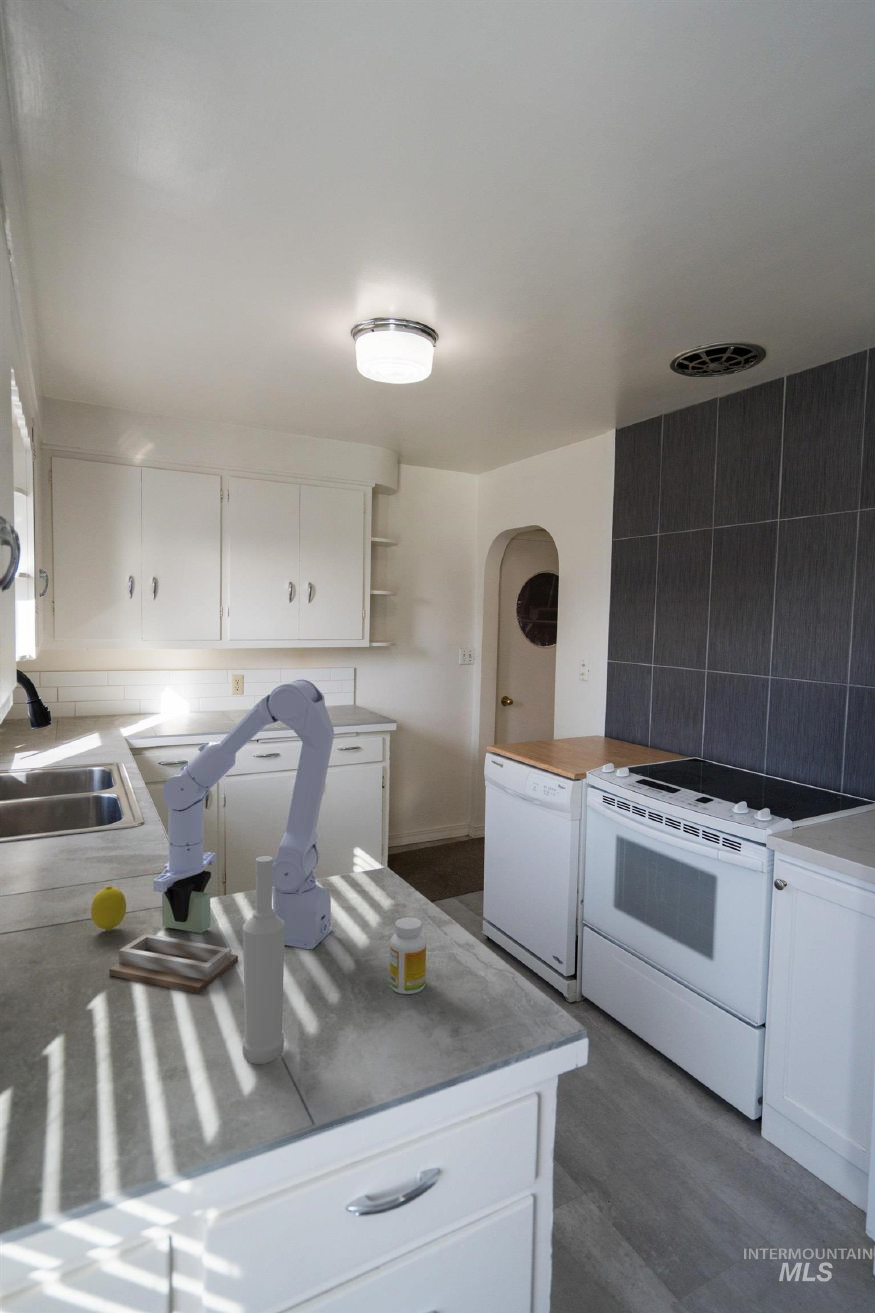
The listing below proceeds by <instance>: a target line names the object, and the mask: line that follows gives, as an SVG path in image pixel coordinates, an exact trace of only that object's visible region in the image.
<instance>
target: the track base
mask: <svg viewBox="0 0 875 1313" xmlns="http://www.w3.org/2000/svg"><path fill="white" fill-rule="evenodd" d="M238 962H239V955H237V954H232V948H228V947H223V946H216V945H212V944H207V943H201V942H200V943H199V942H196V941H195V942H194V941H189V940H183V939H179V938H173V937H167V936H162V935H157V934H156V935H155V934H150V933H143V935H140V937H138V938H136V939H134V940H133V941H131V942H130V943H128V944H127V945H124V946H123V947H122V948H120V949H119V950H118V963H116V964H115V965H113V966H112V967H110V968H109V971H108V972H109V973H108V974H109V976H112V977H118V978H121V979H127V980H131V981H135V982H141V983H146V984H151V985H155V986H161V987H165V988H170V989H176V990H181V991H185V992H191V993H194V994H201V993H202V992H203V991H205V989H207V987H209V986H211V984H212V983H214V982H215V981H217V979H219V978H220V977H221V976H222V975H224V973H225V974H226V972H227V971H228V970H230V969H231V968H232V967H233V966H234V965H236V964H237V963H238Z"/></svg>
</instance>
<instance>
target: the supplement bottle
mask: <svg viewBox="0 0 875 1313" xmlns="http://www.w3.org/2000/svg"><path fill="white" fill-rule="evenodd" d="M422 925H423V923H422V921H421V920H420V919H418V918H417V917H402V918H399V919H397V920H396V921H395V923H394V927H395V928H394V932H395V933H394V934H393V936H391V938H390V945H389V946H390V947H389V948H390V950H389V951H390V953H389V986H390V988H391V989H392V990H393V992H396V993H398V994H402V995H410V994H417V993H419V992H421V991H423V989H425V986H426V976H427V975H426V970H427V966H426V965H427V941H426V936H424V935H423V934H422V929H423V926H422Z"/></svg>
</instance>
